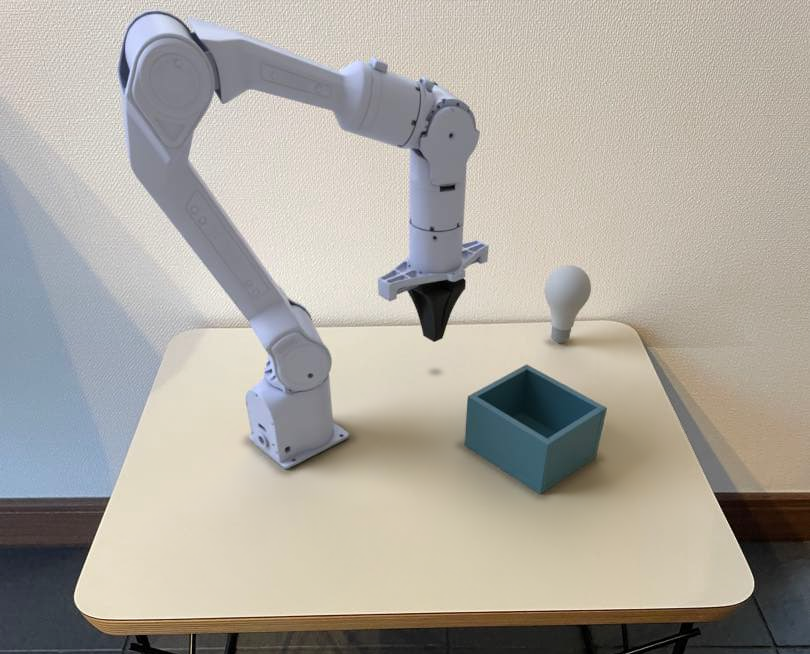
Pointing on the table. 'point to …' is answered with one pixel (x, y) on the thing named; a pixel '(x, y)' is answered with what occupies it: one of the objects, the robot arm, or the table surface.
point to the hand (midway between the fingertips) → (432, 336)
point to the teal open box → (533, 427)
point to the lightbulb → (566, 298)
